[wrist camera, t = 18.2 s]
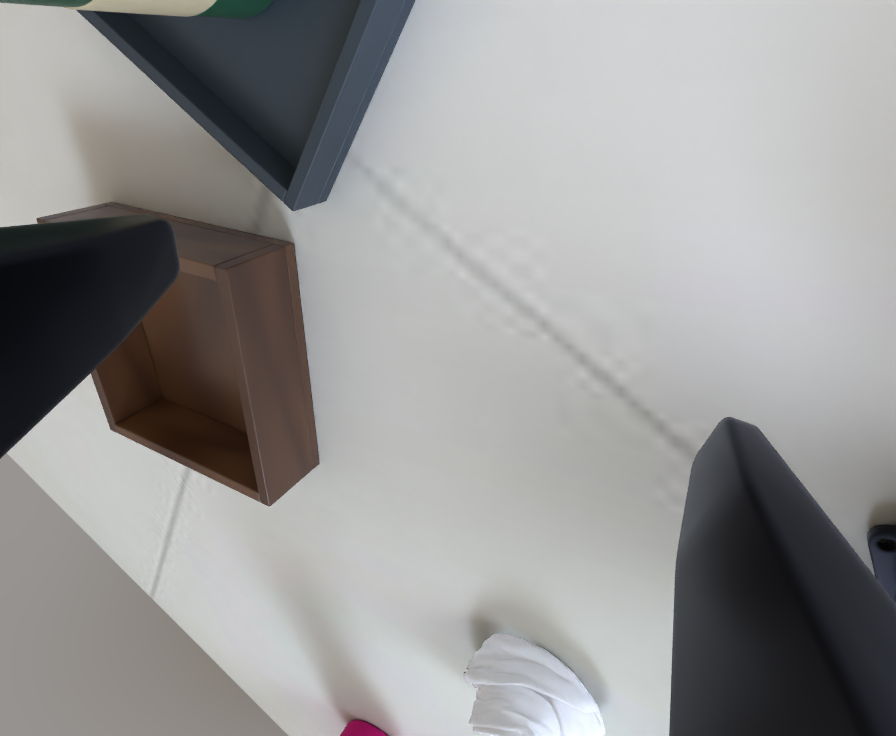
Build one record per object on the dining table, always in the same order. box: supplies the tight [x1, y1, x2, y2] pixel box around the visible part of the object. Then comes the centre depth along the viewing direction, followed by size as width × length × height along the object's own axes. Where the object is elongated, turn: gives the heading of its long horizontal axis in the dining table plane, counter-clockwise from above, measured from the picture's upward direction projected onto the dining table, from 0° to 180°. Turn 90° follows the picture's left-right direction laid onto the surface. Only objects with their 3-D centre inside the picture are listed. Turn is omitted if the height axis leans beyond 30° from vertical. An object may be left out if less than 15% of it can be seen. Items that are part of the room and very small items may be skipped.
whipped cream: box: [463, 634, 605, 736], centre depth 30 cm, size 8×7×5 cm
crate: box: [37, 202, 319, 506], centre depth 30 cm, size 13×13×4 cm
